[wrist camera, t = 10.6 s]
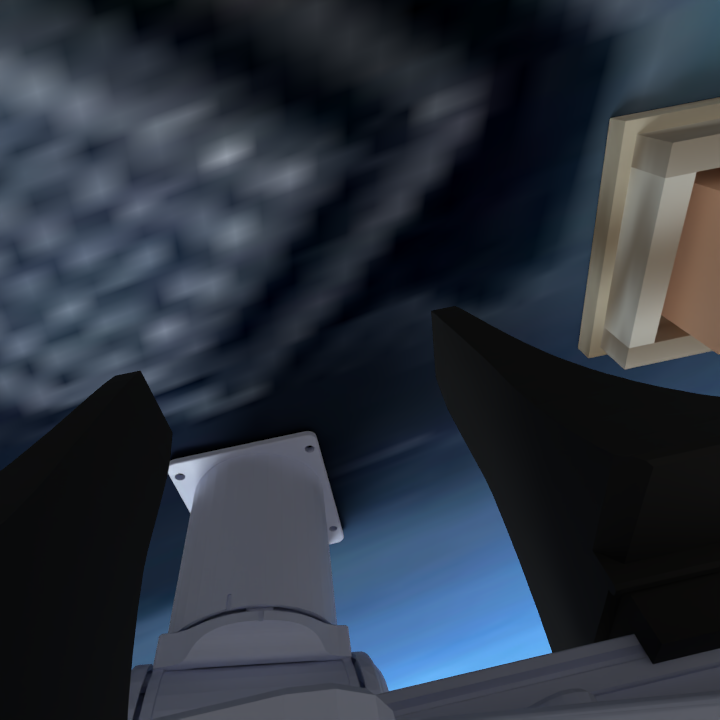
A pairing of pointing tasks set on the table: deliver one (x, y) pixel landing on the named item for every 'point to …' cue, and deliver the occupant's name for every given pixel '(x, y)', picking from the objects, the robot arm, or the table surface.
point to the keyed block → (698, 265)
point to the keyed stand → (644, 231)
